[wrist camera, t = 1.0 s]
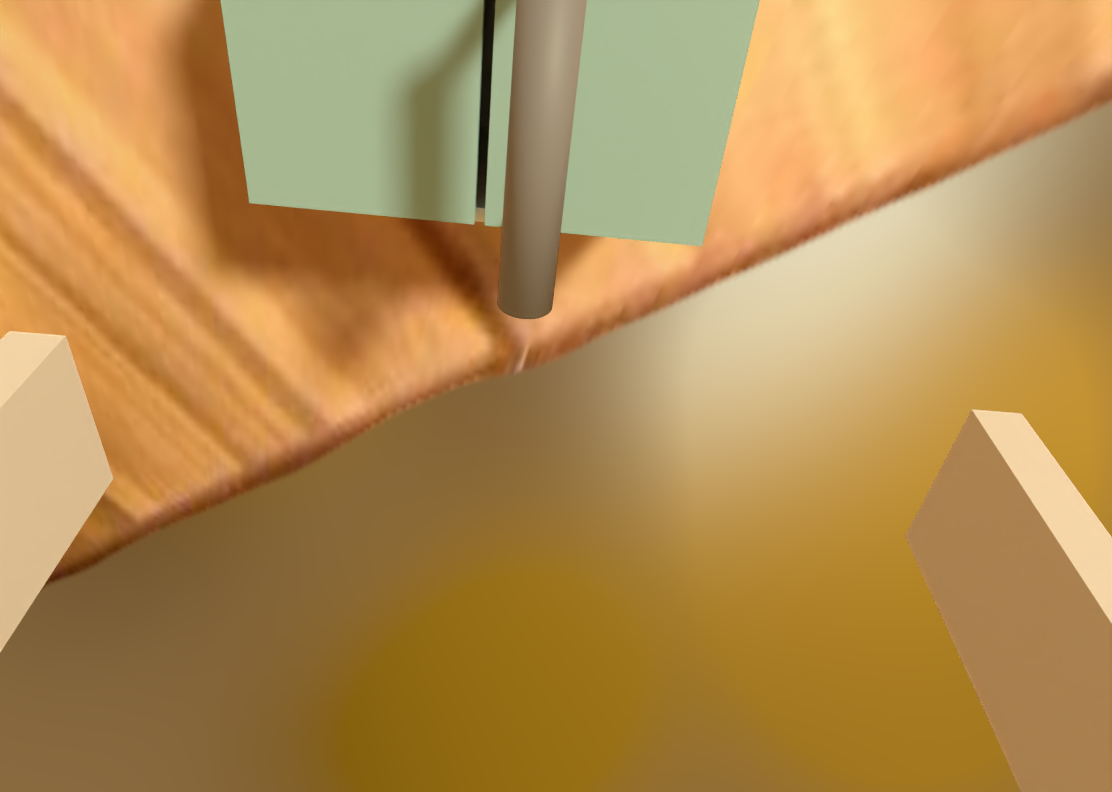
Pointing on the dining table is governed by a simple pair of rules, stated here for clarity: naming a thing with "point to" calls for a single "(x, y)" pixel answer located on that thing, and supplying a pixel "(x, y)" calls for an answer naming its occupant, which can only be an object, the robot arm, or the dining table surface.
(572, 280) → the dining table surface
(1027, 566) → the robot arm
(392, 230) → the dining table surface
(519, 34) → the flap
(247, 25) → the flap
